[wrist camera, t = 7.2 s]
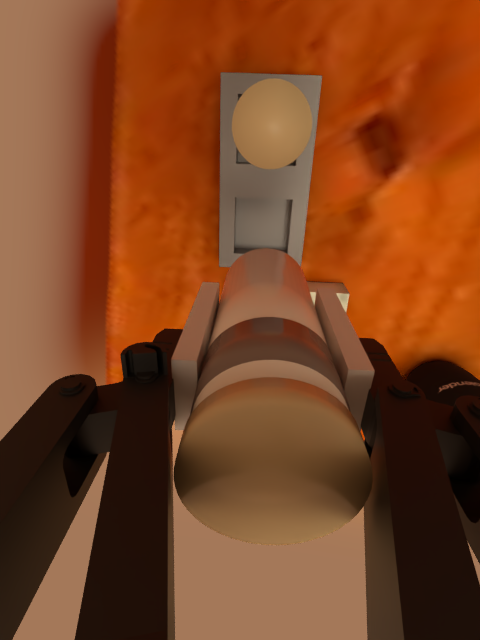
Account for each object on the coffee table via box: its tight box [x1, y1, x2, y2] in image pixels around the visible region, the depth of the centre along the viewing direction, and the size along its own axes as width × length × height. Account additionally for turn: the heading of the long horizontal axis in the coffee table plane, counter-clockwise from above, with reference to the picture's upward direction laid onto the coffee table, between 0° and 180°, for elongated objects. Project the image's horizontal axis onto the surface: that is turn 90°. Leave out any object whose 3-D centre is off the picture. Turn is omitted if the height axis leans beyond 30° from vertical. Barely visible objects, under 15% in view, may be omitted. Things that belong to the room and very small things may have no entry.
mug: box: [406, 361, 480, 406], centre depth 39 cm, size 12×9×10 cm
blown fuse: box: [174, 248, 373, 545], centre depth 14 cm, size 5×5×13 cm
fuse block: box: [219, 72, 322, 267], centre depth 28 cm, size 16×8×13 cm, turn 178°
